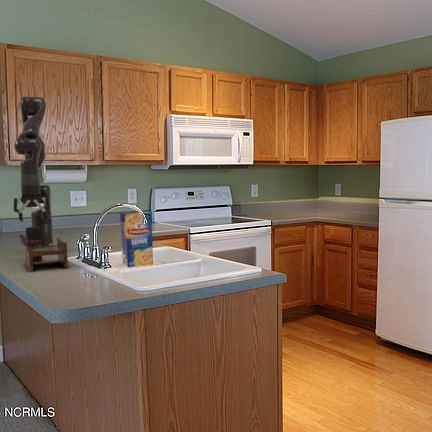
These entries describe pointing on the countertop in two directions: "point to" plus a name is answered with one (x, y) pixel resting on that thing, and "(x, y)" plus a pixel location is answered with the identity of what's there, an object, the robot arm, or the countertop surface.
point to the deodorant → (34, 240)
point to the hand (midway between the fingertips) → (32, 221)
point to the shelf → (47, 253)
